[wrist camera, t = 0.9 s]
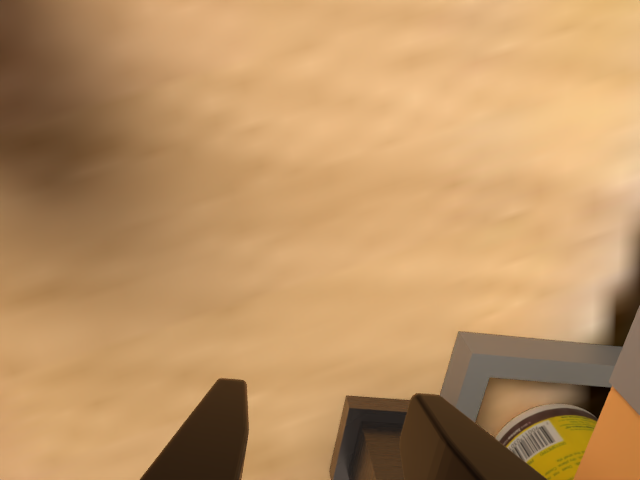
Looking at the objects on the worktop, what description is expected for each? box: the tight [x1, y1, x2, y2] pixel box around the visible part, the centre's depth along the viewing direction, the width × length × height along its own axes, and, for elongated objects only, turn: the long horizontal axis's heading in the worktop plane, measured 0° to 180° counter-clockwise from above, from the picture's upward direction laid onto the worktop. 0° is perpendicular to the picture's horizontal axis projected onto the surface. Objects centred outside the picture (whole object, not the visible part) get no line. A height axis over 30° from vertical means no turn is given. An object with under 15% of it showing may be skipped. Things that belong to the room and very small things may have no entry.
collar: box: [440, 331, 623, 422], centre depth 26 cm, size 11×11×2 cm
